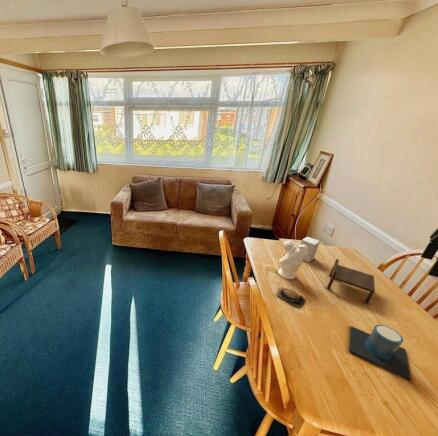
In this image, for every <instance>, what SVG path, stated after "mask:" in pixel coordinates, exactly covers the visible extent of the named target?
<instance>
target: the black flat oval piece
mask: <svg viewBox="0 0 438 436" xmlns="http://www.w3.org/2000/svg"><path fill="white" fill-rule="evenodd" d="M276 296H277V297H278V298H280V299H282V300H283V301H285V302H286V303H289V304H290V305H293V306H295V307H297V308H301V307H302V306H303V304H304V303H305V301H306V299H305V297H304V296H303V295H299V293H298V292H296V291H295V290H293V289H290V288H284V287H282V288H281V289H280V290H279V291H278V292H277V293H276Z"/></svg>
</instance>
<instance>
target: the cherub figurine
mask: <svg viewBox="0 0 438 436" xmlns="http://www.w3.org/2000/svg"><path fill="white" fill-rule="evenodd" d="M282 247H283V249H284V250H285V252H286V254H285V255H284V256H283V257H282V258H280V259H279V260H278V263H279V264H280V268H279V269H278V270H277V273H278V275H279V276H280V277H281V278H284V279H286V280H287V279H288V280H294V279H296V276H297V275H296V272H297V271H298V269H299V268H301V267H302V265H303V263H304V262H303V261H304V260H303V255H307V254H308V251H309V250H308V249H309V248H308V246H306V245H305V244H304V245H301V244H300V245H299V246H298V247H297V246H296V243H295V242H294V241H293V240H285V241H284V242H283V243H282Z"/></svg>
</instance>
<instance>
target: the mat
mask: <svg viewBox="0 0 438 436" xmlns="http://www.w3.org/2000/svg"><path fill="white" fill-rule="evenodd" d="M369 335H370V333H369V332H366V331H365V330H361V329H359V328H356V327H354V326H350V328H349V349H348V351H349V352H348V353H351V354H353V355H355V356H356V357H359V358H361V359H363V360H365V361H367V362H370V363H372V364H373V365H376V366H377V367H380V368H382V369H384V370H386V371H388V372H390V373H392V374H395V375H396V376H399V378H400V377H401V378H403V379H405V380H406V381H411V379H412V377H411V371H410V368H409V361H408V357H407V351H406V349H405V348H404V347H401V346H400V347H399V348H398V349H397V351H396V352H395V354H394V355H393V357H392V358H391V359H388V360H386V359H382V358H379V357H377V356H375V355H374V354H372V353H371V352H370V351H369V350H368V349H367V348H366V346H365V342H366V340H367V338H368V337H369Z"/></svg>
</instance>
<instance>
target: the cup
mask: <svg viewBox="0 0 438 436" xmlns="http://www.w3.org/2000/svg"><path fill="white" fill-rule="evenodd" d="M369 334H370V335H369V337H368V338H367V340H366V342H365V346H366V348H367V349H368V350H369V351H370V352H371V353H372V354H374V355H375V356H377V357H379V358H382V359H386V360H388V359H391V358H392V357H393V355H394V354H395V352H396V351H397V349H398V348H399V347H401V345H402V344H403V342H404V337H403V336H402V335H401V334H400V333H399V332H398V331H397V330H395V329H393V328H392V327H390V326H387V325H384V324H376V325H374V327H372V330H371V331H370V333H369Z"/></svg>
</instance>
